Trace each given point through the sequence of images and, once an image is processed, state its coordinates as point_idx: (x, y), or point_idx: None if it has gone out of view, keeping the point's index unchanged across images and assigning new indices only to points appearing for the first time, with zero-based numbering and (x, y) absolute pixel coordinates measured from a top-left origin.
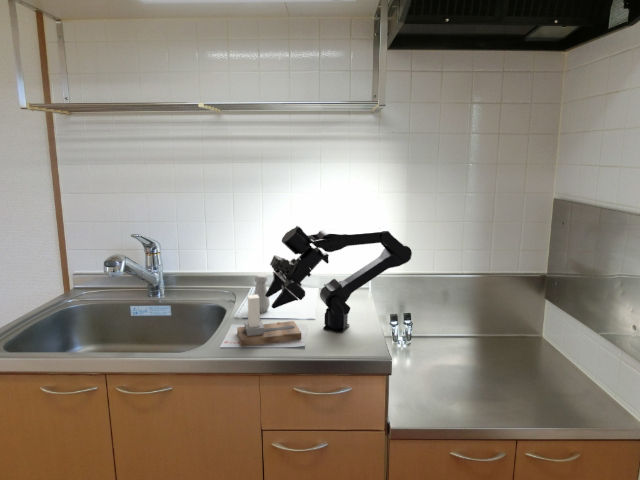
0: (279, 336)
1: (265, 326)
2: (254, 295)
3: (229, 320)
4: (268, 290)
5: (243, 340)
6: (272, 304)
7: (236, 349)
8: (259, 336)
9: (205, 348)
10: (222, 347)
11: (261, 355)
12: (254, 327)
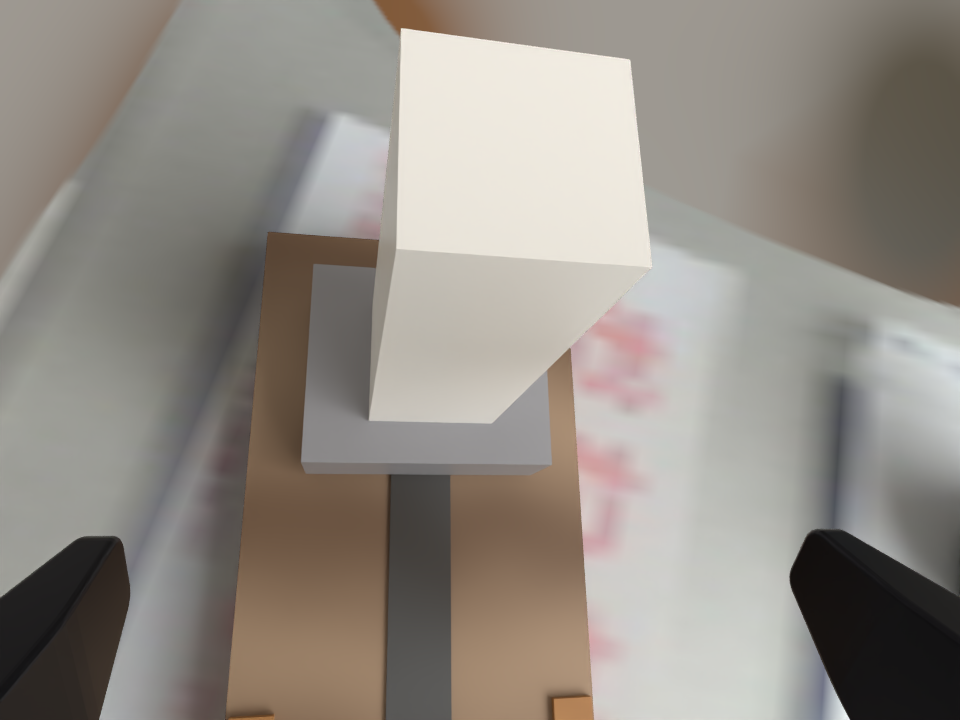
0: (232, 653)
1: (520, 530)
2: (583, 180)
3: (807, 268)
4: (928, 611)
5: (266, 254)
6: (70, 565)
7: (236, 214)
8: (289, 417)
9: (343, 19)
10: (316, 125)
11: (10, 397)
12: (353, 352)
